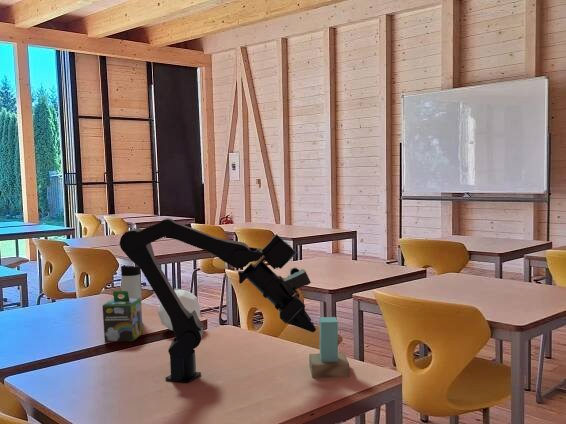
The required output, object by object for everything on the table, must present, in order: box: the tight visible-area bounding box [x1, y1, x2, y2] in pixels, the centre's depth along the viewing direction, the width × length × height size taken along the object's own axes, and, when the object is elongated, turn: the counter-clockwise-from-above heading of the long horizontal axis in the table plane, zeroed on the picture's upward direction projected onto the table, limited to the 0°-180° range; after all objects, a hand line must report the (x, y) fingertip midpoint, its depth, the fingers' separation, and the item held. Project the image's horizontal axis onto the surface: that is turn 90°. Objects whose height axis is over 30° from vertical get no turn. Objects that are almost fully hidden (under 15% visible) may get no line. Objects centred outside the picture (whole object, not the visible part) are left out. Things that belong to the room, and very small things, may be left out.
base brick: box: [308, 352, 350, 379], centre depth 146 cm, size 9×9×4 cm
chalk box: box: [102, 290, 144, 343], centre depth 180 cm, size 9×9×15 cm
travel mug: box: [120, 265, 143, 314], centre depth 197 cm, size 6×7×20 cm
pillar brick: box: [318, 316, 339, 362], centre depth 145 cm, size 4×4×10 cm
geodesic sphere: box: [157, 287, 201, 332], centre depth 187 cm, size 14×14×14 cm
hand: (312, 326), depth 145 cm, fingers open, 9 cm apart
